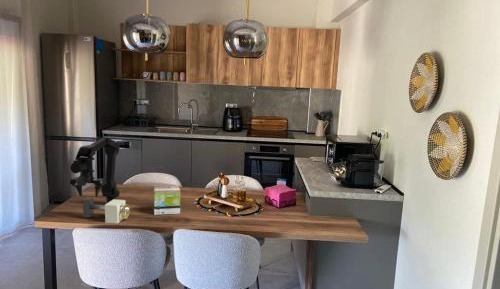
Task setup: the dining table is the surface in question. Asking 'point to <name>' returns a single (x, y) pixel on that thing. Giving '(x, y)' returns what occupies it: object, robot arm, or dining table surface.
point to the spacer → (124, 211)
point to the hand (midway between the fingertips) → (88, 196)
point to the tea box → (166, 200)
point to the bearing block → (114, 211)
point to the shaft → (94, 207)
